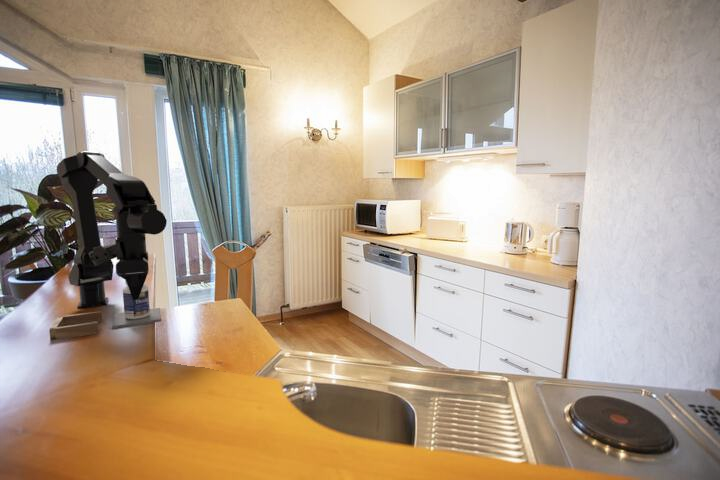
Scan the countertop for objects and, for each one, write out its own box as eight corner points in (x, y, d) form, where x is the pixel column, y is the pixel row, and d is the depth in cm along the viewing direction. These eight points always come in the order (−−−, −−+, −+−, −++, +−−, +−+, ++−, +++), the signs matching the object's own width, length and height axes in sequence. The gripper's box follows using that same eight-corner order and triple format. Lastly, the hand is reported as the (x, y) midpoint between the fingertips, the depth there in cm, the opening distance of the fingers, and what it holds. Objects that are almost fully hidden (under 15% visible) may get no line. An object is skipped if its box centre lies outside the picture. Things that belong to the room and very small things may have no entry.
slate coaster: (115, 316, 92) (115, 313, 92) (160, 309, 97) (159, 307, 97) (112, 328, 84) (111, 326, 84) (161, 321, 89) (161, 318, 89)
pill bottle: (138, 320, 87) (135, 280, 86) (119, 318, 89) (116, 279, 87) (155, 313, 93) (152, 275, 92) (137, 312, 94) (134, 274, 93)
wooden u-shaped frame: (59, 326, 85) (58, 316, 85) (102, 320, 89) (101, 311, 89) (50, 340, 77) (49, 329, 77) (97, 333, 81) (96, 322, 81)
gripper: (94, 230, 92) (100, 290, 94) (84, 238, 76) (90, 310, 78) (146, 228, 97) (150, 285, 99) (146, 235, 81) (150, 303, 83)
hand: (136, 294), depth 90 cm, fingers open, 9 cm apart
